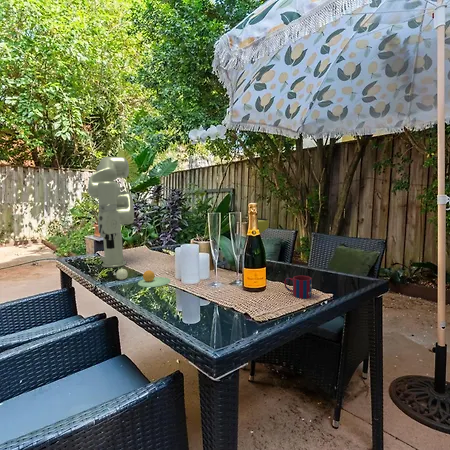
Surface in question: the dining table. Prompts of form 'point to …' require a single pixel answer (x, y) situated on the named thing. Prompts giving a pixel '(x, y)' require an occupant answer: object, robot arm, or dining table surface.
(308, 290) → the mug
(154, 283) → the mint mark
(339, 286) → the dining table surface
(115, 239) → the robot arm
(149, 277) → the orange ball
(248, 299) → the dining table surface
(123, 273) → the ivory ball
